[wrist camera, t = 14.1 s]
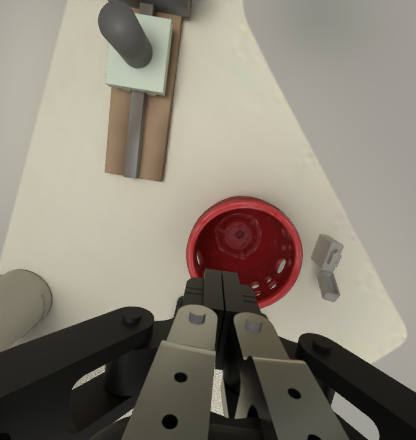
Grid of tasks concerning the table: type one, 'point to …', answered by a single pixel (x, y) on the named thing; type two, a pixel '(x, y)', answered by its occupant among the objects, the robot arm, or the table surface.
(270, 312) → the table surface
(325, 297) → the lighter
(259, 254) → the plant pot
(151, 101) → the rail
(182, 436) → the robot arm
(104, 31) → the mint plate with knob
